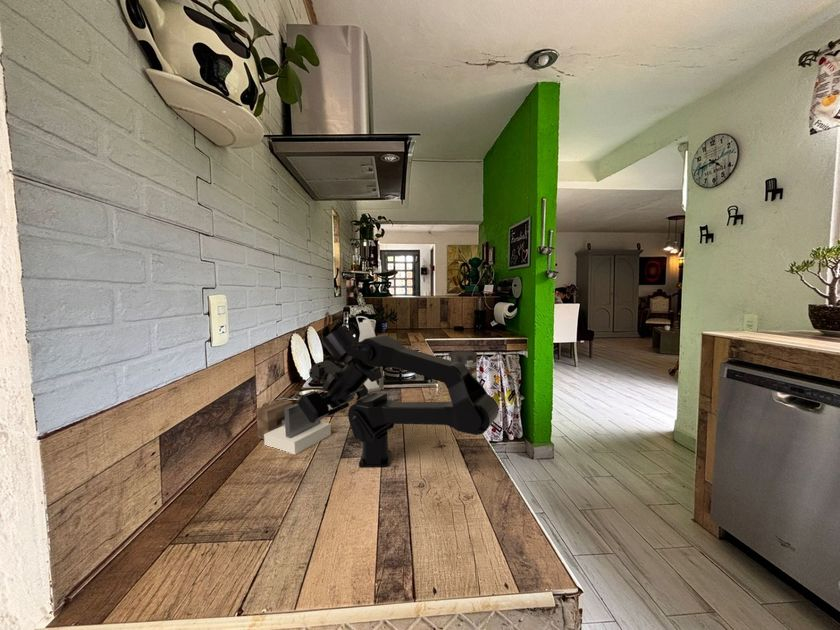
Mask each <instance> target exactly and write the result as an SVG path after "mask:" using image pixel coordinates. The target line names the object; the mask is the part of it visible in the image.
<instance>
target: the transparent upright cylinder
mask: <svg viewBox="0 0 840 630" xmlns="http://www.w3.org/2000/svg"><path fill="white" fill-rule="evenodd" d="M477 356H478V353H477V352H475V351H472V350H471V351H470V350H453V351H449V352H448V360H450V361H453V362H461V363H463V364H464V365H465V366H466V367H467V368H468V370H469V371H470V373H471V375H472V376H473V377H474V378H475V379H476V380H477V381H478V374H477V373H478V368H477V367H478V365H477V364H478V363H477V360H478V357H477Z"/></svg>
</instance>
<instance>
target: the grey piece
mask: <svg viewBox="0 0 840 630" xmlns="http://www.w3.org/2000/svg"><path fill="white" fill-rule="evenodd" d="M284 413H285V419H284V420H282V426H283V427H285V431H286V437H289V438H291V437H293V436H295V435H297V434H299V433H301V432H303V431H305V430H307V429H309V428H311V427H313V426H315V425H317V424H319V423H321V422H322V421H321V420H319V421H317V422H315V423H311V422H310V421H309V420H308V418H307V417H306V415H305V414H304V412H303V411H302V410H301V408H300V407H299V405H298V404H297V402H296V403H294V404H292V405H291V406H288V407H286V408H284Z"/></svg>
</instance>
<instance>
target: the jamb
mask: <svg viewBox="0 0 840 630" xmlns="http://www.w3.org/2000/svg"><path fill="white" fill-rule="evenodd" d="M291 405H293V401H292V400H287V399H280V400H276V401H274V402H272V403H268V404H266V405H263V406H261V407H258V408H256V421H257V438H258V437H259V438H262V439H264V434H266V433H268V432H270V431H272V430H275V429H277V428H279V427H281V426H282V420H284V419H285V413H284V408H286V407H288V406H291Z"/></svg>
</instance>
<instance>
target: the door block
mask: <svg viewBox="0 0 840 630" xmlns="http://www.w3.org/2000/svg"><path fill="white" fill-rule="evenodd" d="M320 422H321V423H319V424H317V425H315V426H313V427H311V428H309V429H307V430H305V431H303V432H301V433H299V434H297V435H295V436H293V437H291V438H289V437H286V431H285V427H283V426H281V427H279V428H277V429H275V430H272V431H270V432H268V433H266V434H264V440H263V442H264V446H265V445H267V446H270V447H274V448H277V449H280V450H279V451H281V450H283V451H282V452H284V451H286V452H285V453H288V452H289V453H288V454H292V455H294V456H295V455H297V454H299V453H300V452H301V453H302V452H303V451H304V450H306V449H308V448H309V447H312V446H313V445H315V444H316V443H319V442H320V441H322V440H325V438H328V437H330V436H331V435H332V431H331V430H332V428H331V427H332V425H331V423H328V422H324V421H320ZM267 446H266V447H267ZM270 447H269V448H270ZM274 448H273V449H274ZM277 449H276V450H277Z"/></svg>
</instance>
